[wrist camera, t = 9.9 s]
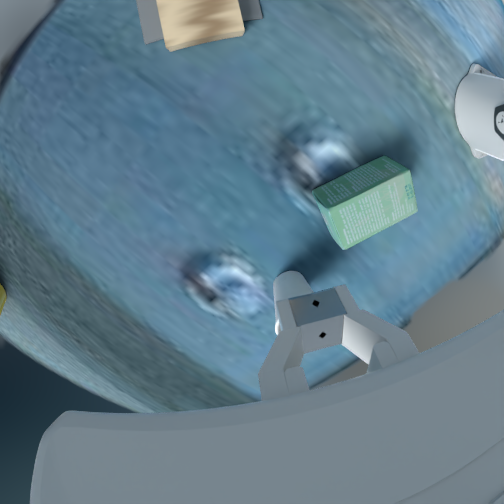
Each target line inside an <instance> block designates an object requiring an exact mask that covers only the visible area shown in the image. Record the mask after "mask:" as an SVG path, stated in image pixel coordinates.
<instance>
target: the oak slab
mask: <svg viewBox="0 0 504 504" xmlns="http://www.w3.org/2000/svg"><path fill="white" fill-rule="evenodd" d="M156 2H157V7H158V12H159V17H160V22H161V27H162V31H163V36H164V41H165V45H166V48H167V49H168V50H170V51H175V50H178V49H182V48H186V47H190V46H194V45H198V44H202V43H207V42H211V41H216V40H221V39H226V38H232V37H238V36H242V35H243V33H244V31H245V29H244V24H243V20H242V16H241V11H240V7H239V3H238V0H156Z"/></svg>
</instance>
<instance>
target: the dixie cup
mask: <svg viewBox="0 0 504 504" xmlns="http://www.w3.org/2000/svg"><path fill="white" fill-rule="evenodd" d="M273 290H274V302H275V316H276V325H275V331H276V334H277V335H278V333H279V331H281V329H280V324H279V318H278V313H277V307H276V301H278V300H283V299H288V298H292V297H297V296H301V295H306V294H311V293H314V292H313V291H312V289H311V288H310V286H309V284H308V283H307V281H306V280H305V278H304V277H303V275H302V274H301V273H299V272H297V271H287V272H284V273H282V274H280V275H279V276H278V277H277V278H276V279H275V281H274V283H273Z"/></svg>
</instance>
